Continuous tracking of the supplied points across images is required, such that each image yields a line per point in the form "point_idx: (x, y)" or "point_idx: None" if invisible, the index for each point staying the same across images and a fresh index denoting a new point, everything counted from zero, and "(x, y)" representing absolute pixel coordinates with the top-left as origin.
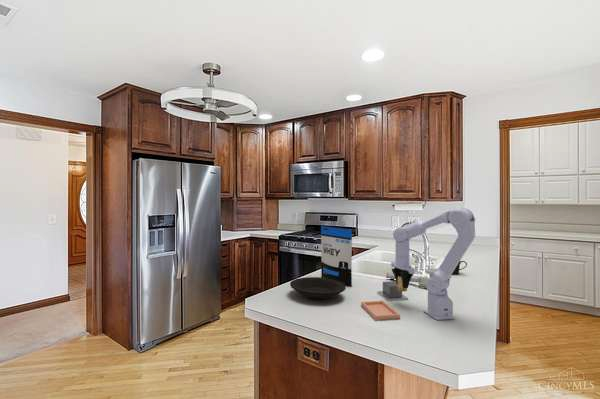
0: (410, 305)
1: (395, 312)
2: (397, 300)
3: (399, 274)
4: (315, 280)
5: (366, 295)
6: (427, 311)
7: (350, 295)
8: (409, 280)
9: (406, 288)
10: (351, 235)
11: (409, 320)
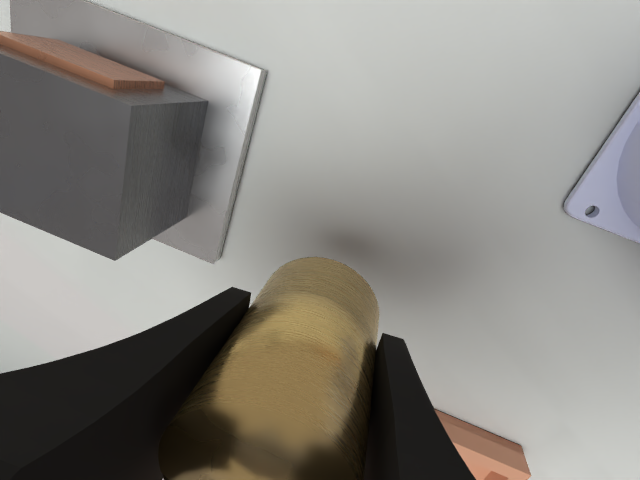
0: (384, 178)
1: (482, 465)
2: (239, 180)
3: (140, 459)
4: None
5: (68, 286)
6: (619, 210)
7: (50, 361)
8: (444, 448)
9: (376, 327)
10: None
11: (580, 423)
